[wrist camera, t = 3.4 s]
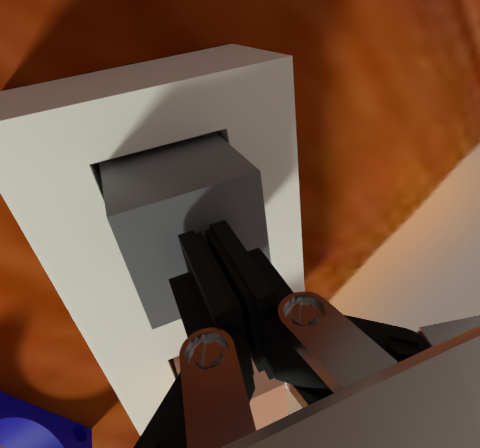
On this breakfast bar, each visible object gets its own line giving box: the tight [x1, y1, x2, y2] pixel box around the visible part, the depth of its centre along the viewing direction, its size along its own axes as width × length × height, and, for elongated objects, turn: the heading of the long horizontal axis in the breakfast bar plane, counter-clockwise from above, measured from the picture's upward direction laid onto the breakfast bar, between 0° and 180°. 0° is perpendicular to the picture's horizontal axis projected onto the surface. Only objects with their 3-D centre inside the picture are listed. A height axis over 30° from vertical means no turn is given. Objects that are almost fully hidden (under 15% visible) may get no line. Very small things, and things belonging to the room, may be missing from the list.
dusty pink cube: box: [173, 356, 289, 431], centre depth 22 cm, size 5×5×6 cm
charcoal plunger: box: [99, 132, 271, 330], centre depth 15 cm, size 5×5×6 cm
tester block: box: [0, 44, 305, 436], centre depth 22 cm, size 22×12×7 cm, turn 8°
